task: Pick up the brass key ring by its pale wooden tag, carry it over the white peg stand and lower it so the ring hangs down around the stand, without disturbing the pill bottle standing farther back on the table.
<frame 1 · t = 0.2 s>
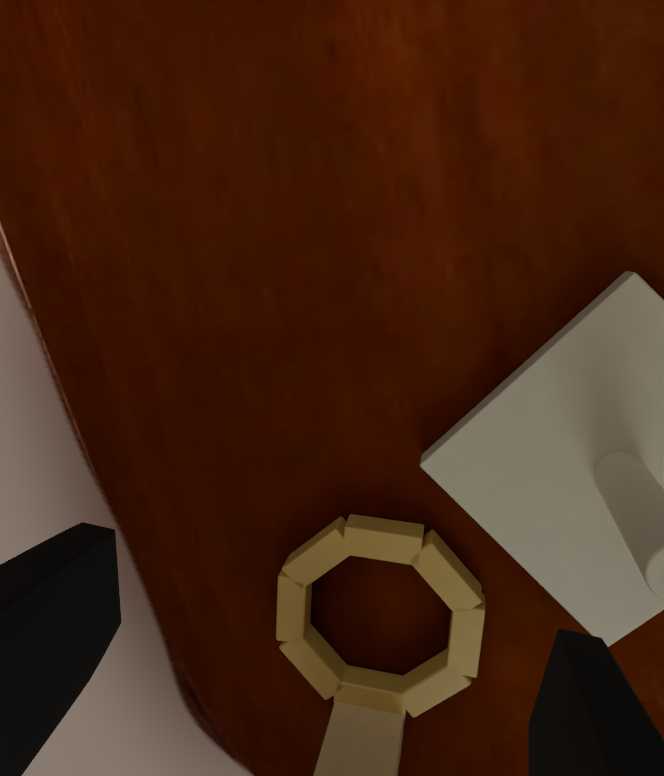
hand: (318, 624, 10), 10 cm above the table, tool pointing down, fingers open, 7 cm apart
key ring: (379, 609, 21), on the table
white peg stand: (612, 462, 19), on the table
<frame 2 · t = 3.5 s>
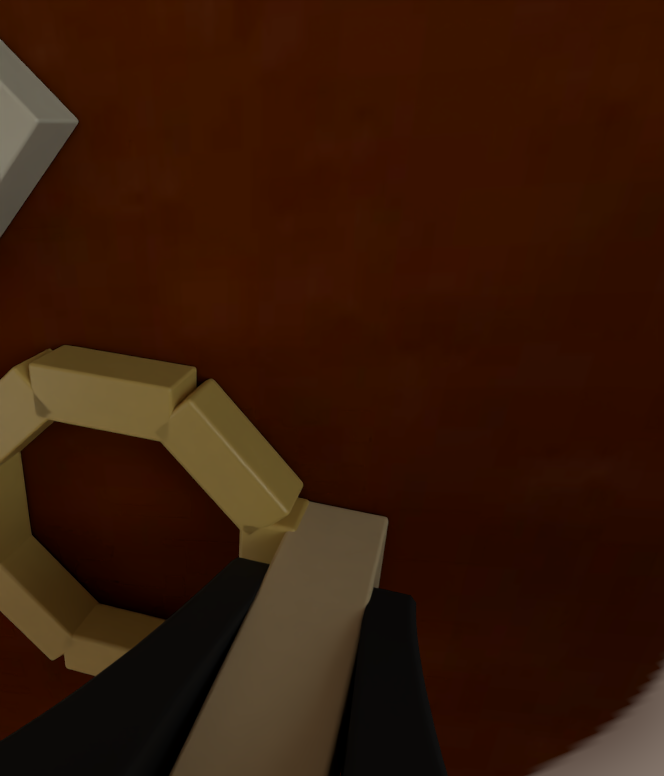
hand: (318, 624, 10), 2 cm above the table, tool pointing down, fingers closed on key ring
key ring: (137, 517, 12), on the table, touching gripper
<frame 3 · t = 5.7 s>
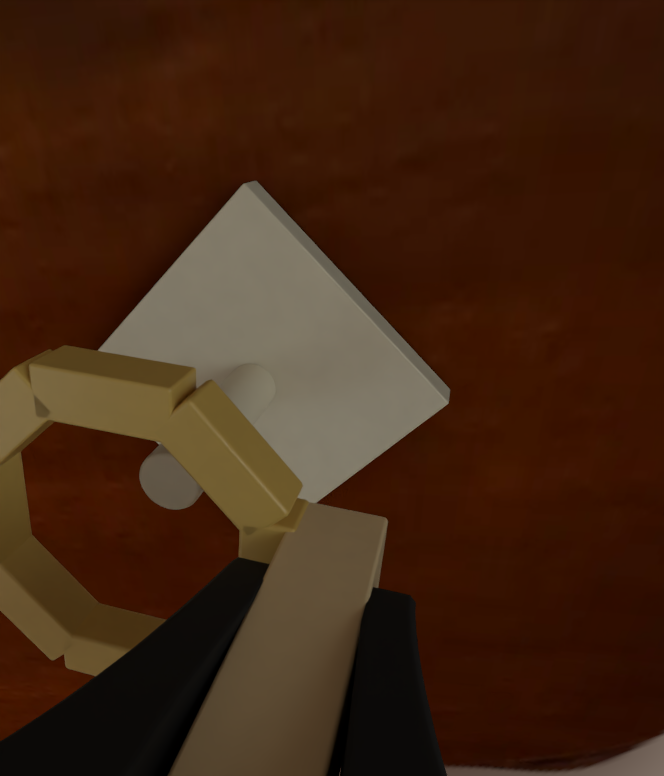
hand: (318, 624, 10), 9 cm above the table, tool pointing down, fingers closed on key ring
key ring: (137, 517, 12), point 8 cm above the table, touching gripper
white peg stand: (264, 373, 19), on the table
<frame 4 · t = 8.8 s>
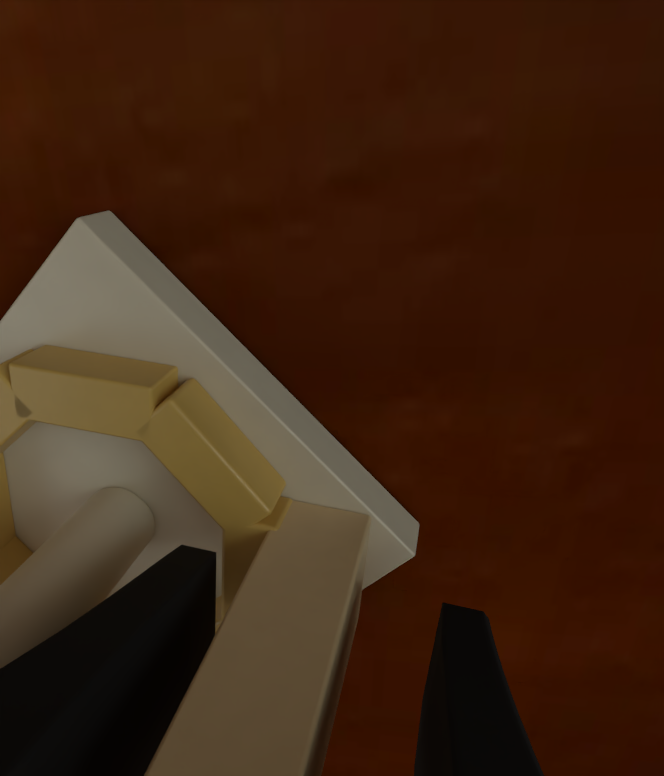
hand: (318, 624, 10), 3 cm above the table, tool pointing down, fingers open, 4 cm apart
key ring: (121, 517, 12), point 1 cm above the table, touching white peg stand
white peg stand: (147, 489, 13), on the table
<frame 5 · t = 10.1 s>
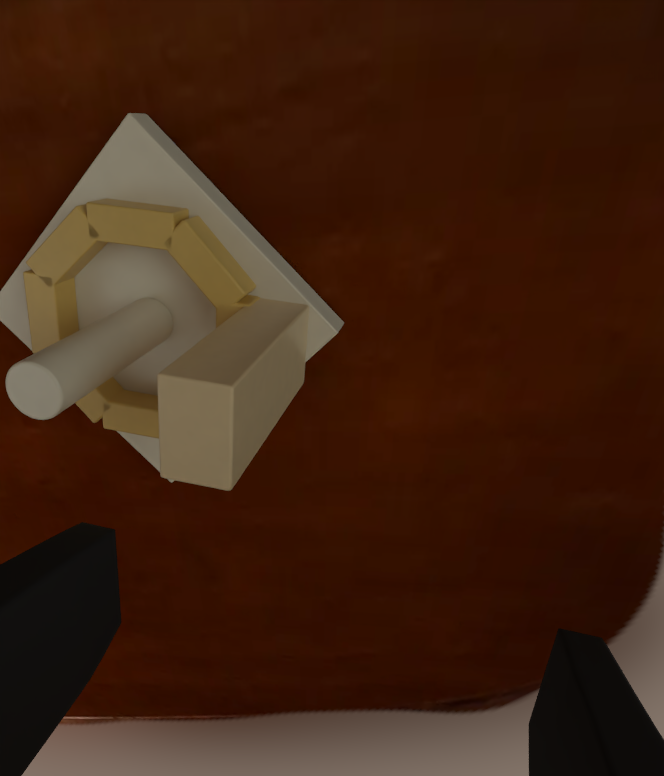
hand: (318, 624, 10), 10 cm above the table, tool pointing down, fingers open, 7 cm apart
key ring: (151, 320, 18), point 1 cm above the table, touching white peg stand
white peg stand: (167, 311, 19), on the table
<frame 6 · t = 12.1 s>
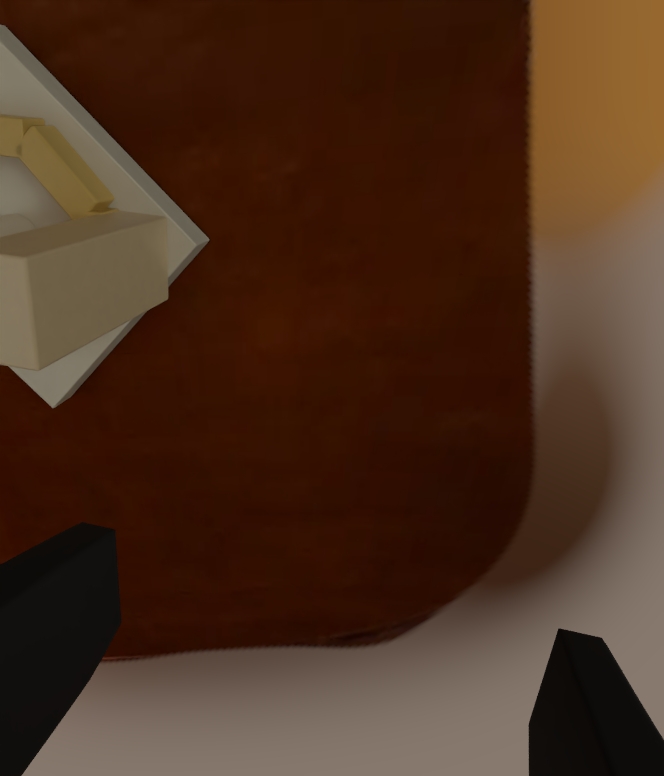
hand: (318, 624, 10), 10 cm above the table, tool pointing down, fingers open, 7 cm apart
key ring: (19, 238, 19), point 1 cm above the table, touching white peg stand
white peg stand: (41, 232, 19), on the table
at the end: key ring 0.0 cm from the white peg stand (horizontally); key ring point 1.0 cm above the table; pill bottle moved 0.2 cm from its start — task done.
